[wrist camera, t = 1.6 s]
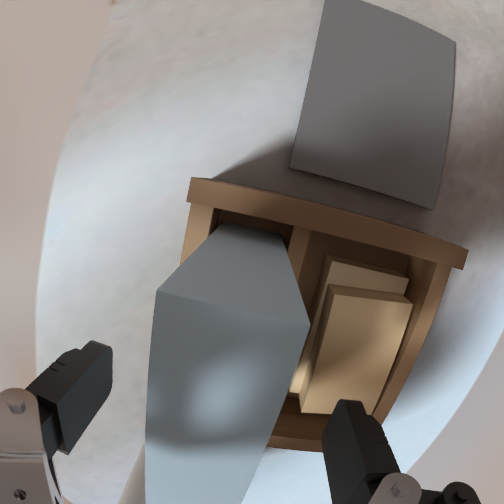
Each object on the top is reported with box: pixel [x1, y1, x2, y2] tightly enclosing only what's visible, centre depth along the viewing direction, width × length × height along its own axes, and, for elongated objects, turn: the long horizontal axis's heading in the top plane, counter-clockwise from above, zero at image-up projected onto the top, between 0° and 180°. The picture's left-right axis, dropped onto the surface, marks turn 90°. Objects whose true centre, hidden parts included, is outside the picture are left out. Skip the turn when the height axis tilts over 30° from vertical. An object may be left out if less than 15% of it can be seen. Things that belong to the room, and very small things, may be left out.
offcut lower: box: [289, 254, 409, 393], centre depth 17 cm, size 8×4×2 cm, turn 167°
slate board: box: [145, 221, 310, 504], centre depth 12 cm, size 9×3×11 cm, turn 167°
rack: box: [180, 177, 468, 452], centre depth 16 cm, size 13×13×5 cm
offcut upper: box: [299, 284, 413, 415], centre depth 15 cm, size 7×4×2 cm, turn 171°
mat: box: [289, 0, 455, 210], centre depth 15 cm, size 12×9×1 cm
